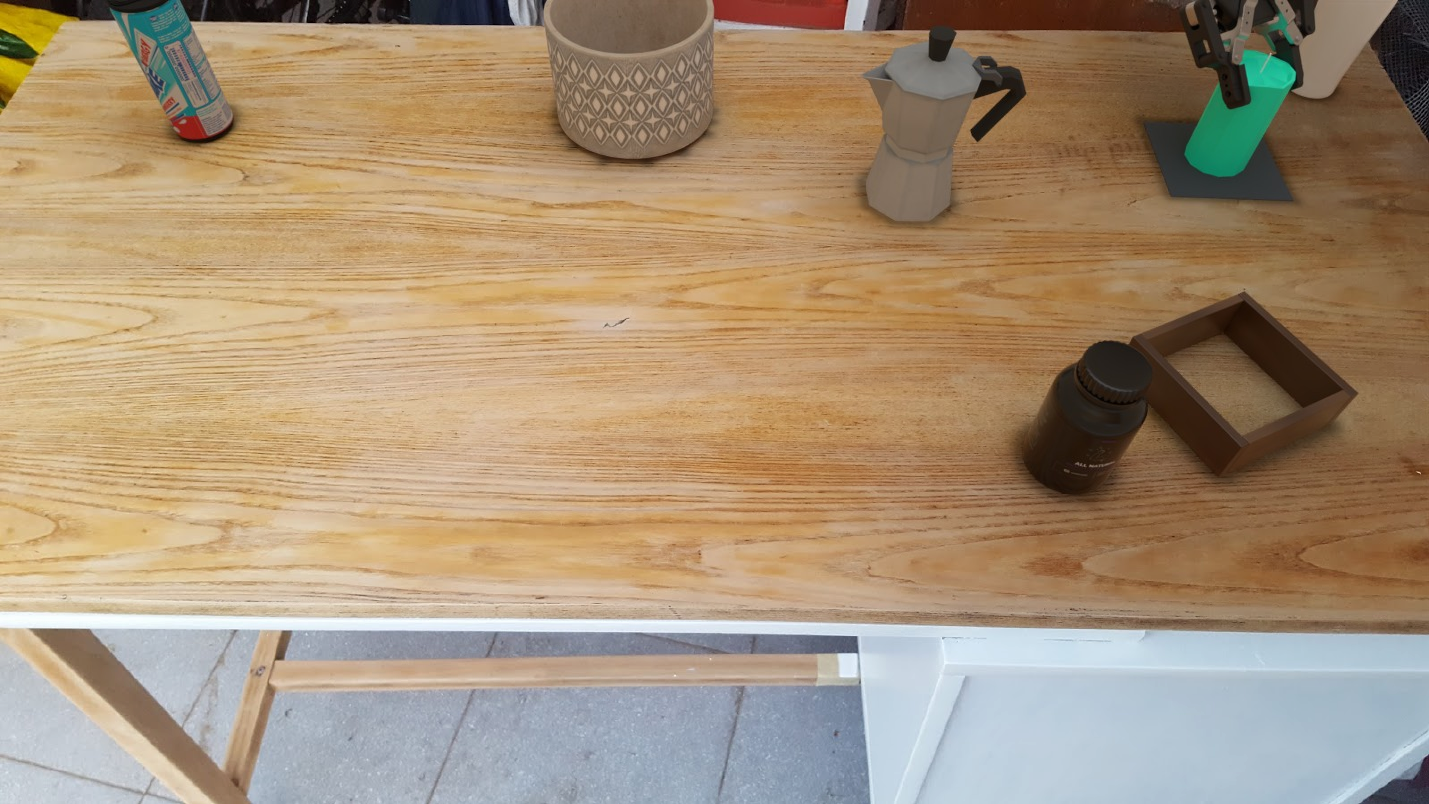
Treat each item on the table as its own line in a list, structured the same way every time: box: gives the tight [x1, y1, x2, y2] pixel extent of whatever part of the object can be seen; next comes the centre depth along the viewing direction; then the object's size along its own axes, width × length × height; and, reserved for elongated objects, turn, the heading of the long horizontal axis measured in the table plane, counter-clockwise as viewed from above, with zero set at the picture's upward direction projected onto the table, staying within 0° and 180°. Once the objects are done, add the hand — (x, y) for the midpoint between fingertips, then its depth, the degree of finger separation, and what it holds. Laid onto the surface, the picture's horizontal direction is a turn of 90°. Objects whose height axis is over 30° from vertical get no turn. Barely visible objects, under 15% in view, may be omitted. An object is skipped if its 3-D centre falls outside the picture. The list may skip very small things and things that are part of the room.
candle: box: [1184, 48, 1296, 177], centre depth 92 cm, size 6×6×12 cm
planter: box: [542, 0, 715, 160], centre depth 96 cm, size 16×16×13 cm
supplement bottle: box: [1021, 339, 1153, 496], centre depth 70 cm, size 7×7×12 cm
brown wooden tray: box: [1128, 291, 1359, 478], centre depth 77 cm, size 12×12×5 cm
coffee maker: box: [860, 24, 1027, 222], centre depth 87 cm, size 15×9×18 cm, turn 91°
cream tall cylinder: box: [1290, 0, 1399, 100], centre depth 100 cm, size 7×7×15 cm
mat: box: [1143, 121, 1295, 202], centre depth 97 cm, size 12×12×1 cm
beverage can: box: [105, 0, 234, 143], centre depth 94 cm, size 6×6×15 cm
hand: (1265, 97), depth 90 cm, fingers closed on candle, 6 cm apart
